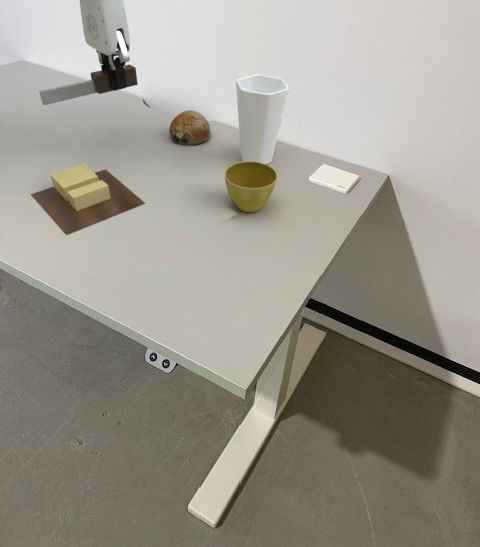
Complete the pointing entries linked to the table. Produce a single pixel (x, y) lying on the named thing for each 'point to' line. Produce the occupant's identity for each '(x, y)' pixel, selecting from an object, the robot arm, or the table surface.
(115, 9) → the robot arm
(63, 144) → the table surface
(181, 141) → the bread roll
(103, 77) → the knife
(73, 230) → the board
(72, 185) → the butter block
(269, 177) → the flower pot
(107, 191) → the butter slice
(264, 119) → the cup
